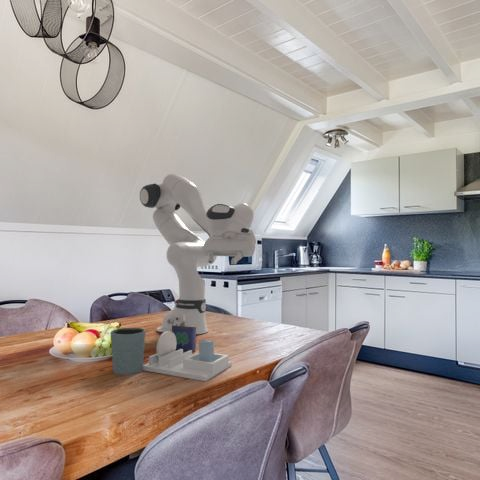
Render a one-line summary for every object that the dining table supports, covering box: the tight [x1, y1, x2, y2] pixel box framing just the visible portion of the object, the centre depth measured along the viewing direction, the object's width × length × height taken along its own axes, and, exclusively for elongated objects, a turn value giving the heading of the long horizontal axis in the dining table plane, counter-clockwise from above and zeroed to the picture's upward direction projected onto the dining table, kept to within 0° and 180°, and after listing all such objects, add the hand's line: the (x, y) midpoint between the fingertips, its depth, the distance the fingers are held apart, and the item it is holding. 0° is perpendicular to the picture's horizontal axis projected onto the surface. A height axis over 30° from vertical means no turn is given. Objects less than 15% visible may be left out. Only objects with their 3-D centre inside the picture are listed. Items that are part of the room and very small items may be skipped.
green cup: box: [110, 327, 146, 376], centre depth 116 cm, size 10×10×12 cm
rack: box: [142, 331, 233, 382], centre depth 119 cm, size 22×16×10 cm
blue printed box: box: [172, 321, 197, 353], centre depth 138 cm, size 9×3×11 cm, turn 74°
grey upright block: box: [198, 339, 215, 362], centre depth 117 cm, size 5×5×7 cm
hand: (221, 262), depth 139 cm, fingers open, 8 cm apart
